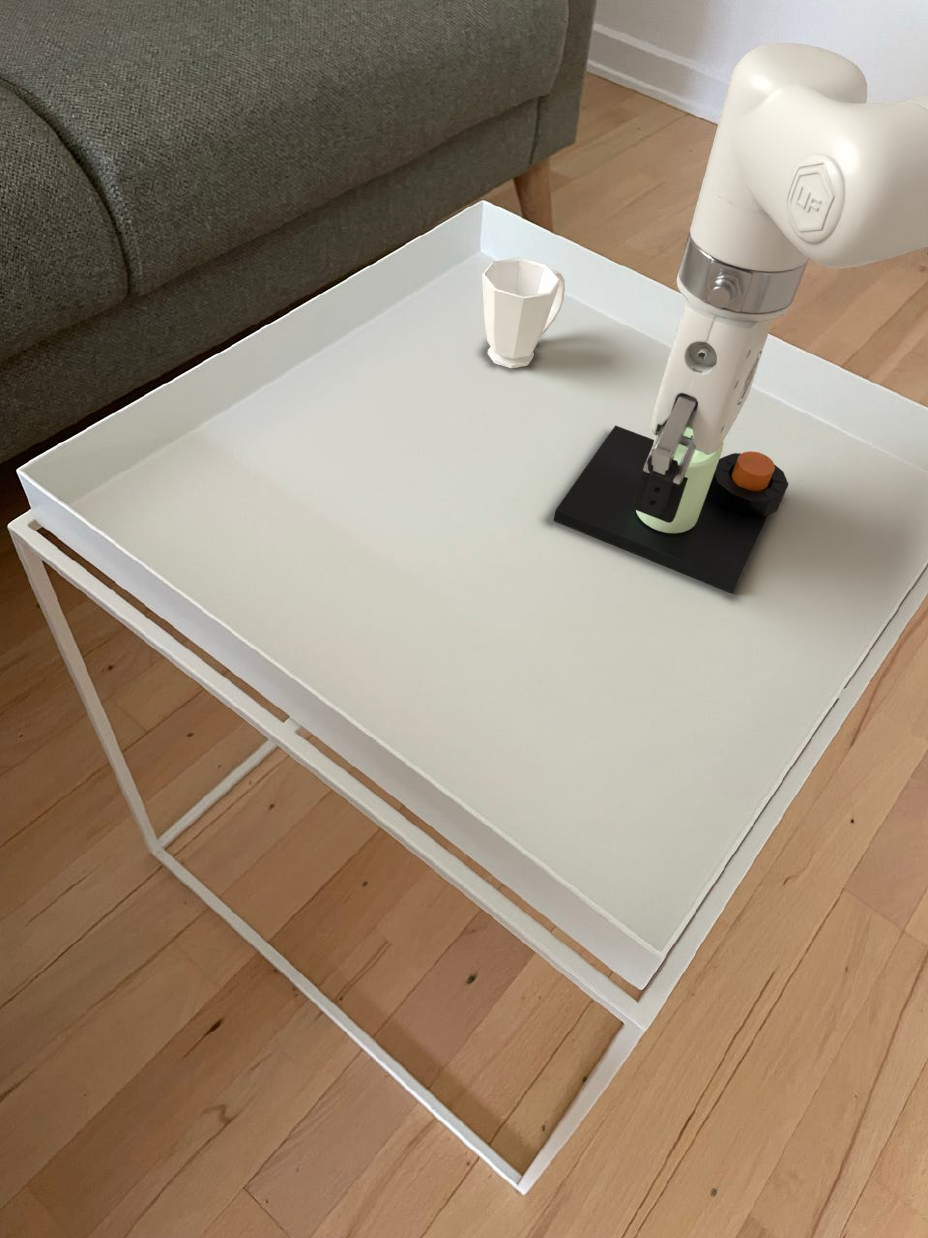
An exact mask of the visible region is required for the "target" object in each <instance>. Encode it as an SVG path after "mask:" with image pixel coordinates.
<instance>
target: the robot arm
mask: <svg viewBox="0 0 928 1238" xmlns="http://www.w3.org/2000/svg"><path fill="white" fill-rule="evenodd" d="M867 82H868V81H867V79H866V76H865V74H864V72H863V71H862V70H861V69H860V67H859V66H858V65H857V64H855V62H853V61H852V60H849V58H846V57H845V56H843V55H841V54H839V53H837V52H834V51H832V50H829V49H826V48H823V47H819V46H815V45H809V44H804V43H797V42H796V43H795V42H777V43H768V44H763V45H759V46H757V47H755V48H753V49H752V50H749V51H748V52H747V53H746V54H744V55H743V56H742V57H741V58H740V60H739V61H738V62H737V64H736V65H735V67H734V69H733V71H732V73H731V77H730V80H729V83H728V86H727V90H726V93H725V98H724V101H723V104H722V109H721V113H720V116H719V120H718V123H717V127H716V132H715V135H714V139H713V143H712V147H711V151H710V152H709V153H710V154H709V157H708V161H707V164H706V170H705V171H704V176H703V179H702V183H701V187H700V191H699V195H698V199H697V202H696V205H695V209H694V213H693V217H692V221H691V225H690V228H689V231H688V235H687V238H686V242H685V246H684V249H683V253H682V256H681V261H680V263H679V268H678V272H677V276H676V280H675V281H676V286H677V289H678V291H679V292H680V294H681V295H682V296H683V297H684V298H685V299H686V302H685V305H684V308H683V311H682V315H681V317H680V321H679V323H678V327H676V331H675V336H674V340H673V342H672V346H671V349H670V351H669V356H668V359H667V362H666V365H665V368H664V371H663V374H662V379H661V382H660V385H659V389H658V392H657V397H656V400H655V404H654V409H653V412H652V415H651V417H652V418H651V422H650V430H651V431H652V433H653V435H654V440H655V441H654V443H653V446H652V448H651V450H650V453H649V455H648V458H647V460H646V462H645V464H644V465H643V468H642V472H641V475H640V479H639V482H638V486H637V489H636V493H635V496H634V500H633V503H632V507H633V508H634V509H635V510H637V511H640V512H642V513H645V514H647V515H650V516H652V517H655V518H657V519H660V520H662V521H665V522H668V523H671V522H672V521H673V520H674V518H675V516H676V513H677V510H678V507H679V504H680V501H681V498H682V495H683V492H684V489H685V486H686V483H687V480H688V478H686V477H684V476H685V473H686V471H687V469H688V466H689V464H690V462H691V459H692V457H693V455H694V452H695V450H698V451H701V452H704V453H705V454H706V455H709V454H712V453H714V452H716V451H717V450H718V449H719V447H720V446H721V444H722V442H723V443H724V441H725V439H726V437H727V435H728V433H729V432H730V430H731V428H732V427H733V425H734V423H735V421H736V420H737V418H738V416H739V414H740V412H741V410H742V408H743V407H744V405H745V403H746V401H747V400H748V396H749V395H750V391H751V389H752V386H753V382H754V379H755V377H756V373H757V371H758V367H759V363H760V360H761V357H762V354H763V351H764V348H765V345H766V342H767V340H768V336H769V333H770V330H771V327H772V324H773V321H774V320H775V319H778V318H780V317H782V316H783V317H784V315H785V314H787V313H788V312H789V311H790V310H791V308H792V307H793V306H792V305H793V303H794V300H795V297H796V295H797V292H798V289H799V287H800V284H801V282H802V279H803V277H804V273H805V271H806V268H807V265H808V263H809V260H810V261H812V262H813V263H814V264H817V265H819V266H822V267H825V268H831V269H838V270H839V269H852V268H859V267H862V266H866V265H870V264H873V263H876V262H881V261H885V260H889V259H892V258H896V257H900V256H903V255H905V254H908V253H911V252H915V251H918V250H923V249H926V248H928V95H923V96H918V97H913V98H907V99H906V98H905V99H902V100H897V101H891V102H872V103H871V102H870V103H869V102H868V103H867V100H868V83H867ZM686 428H690V429H693V435H694V437H693V439H691V438H689V437H686V436H683V435H684V433H685V430H686ZM656 435H657V436H656ZM655 436H656V438H655ZM678 445H681V446H684V447H686V450H685V452H684V455H683V457H682V459H681V462H680V464H679V465H678V462H677V461H676V460H673V459H674V457H675V453H676V450H677V447H678Z"/></svg>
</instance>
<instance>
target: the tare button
mask: <svg viewBox="0 0 928 1238" xmlns="http://www.w3.org/2000/svg"><path fill="white" fill-rule="evenodd" d="M774 464H775V462H774V461H773V460H772V459H771V458H770V457H769V456H767V455H766V454H764V453H761V452H757V451H753V450H752V451H744V452H742V454H740V455H739V457H738V459H737V462H736V464H735V467H734V469H733V472H732V480H733V482H735V483H736V484H737V485H738V486H740V487H742V488H745V489H748V490H750V491H763V490H764V489H766V488H767V486H768V484H769V482H770V479H771V477H772V474H773V472H774V470H775V465H776V464H775V465H774Z"/></svg>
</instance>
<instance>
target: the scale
mask: <svg viewBox="0 0 928 1238" xmlns="http://www.w3.org/2000/svg"><path fill="white" fill-rule="evenodd" d="M654 440H655V439H653V438H650V437H647V436H645V435H642V434H639V433H636V432H635V431H632V430H630V429H626V428H624V427H622V426H618V425H617V424H616V425H614V426H613V428H612V429H611V431H610V432H609V434H608V435H607V437H606V438H605V439H604V441H603V442H602V444H600V446H599V447H598V449H597V451H596V452H595V453H594V454H593V456H592V458H591V459H590V461H589V462H588V463H587V464H586V466H585V467H584V468H583V470H582V472H581V473H580V475H579V476H578V477H577V479H576V480H575V482H574V483H573V485H572V486H571V487H570V489H569V490H568V491H567V493H566V494H565V496H564V497H563V499H562V500H561V501H560V503H559V504H558V506H557V507H556V508H555V511H554V516H553V521H554V522H555V523H558V524H561V525H563V526H566V527H568V528H571V529H573V530H576V531H577V532H580V533H583V534H586V535H587V536H590V537H593V538H596V539H598V540H600V541H603V542H604V543H607V544H609V545H612V546H614V547H618V548H619V549H622V550H624V551H626V552H629V553H632V554H634V555H637V556H639V557H642V558H643V559H647V560H648V561H652V562H653V563H656V564H658V565H661V566H664V567H666V568H669V569H671V570H672V571H673V570H674V571H676V572H679V573H681V574H683V575H686V576H688V577H691V578H693V579H695V580H697V581H700V582H703V583H705V584H708V585H710V586H713V587H715V588H717V589H720V590H722V591H724V592H727V593H730V594H733V593H734V592H735V590H736V587H737V585H738V583H739V581H740V579H741V576H742V574H743V572H744V569H746V566H747V564H748V562H749V559H750V557H751V556H752V552H753V551H754V548H755V546H756V544H757V542H758V540H759V537H760V535H761V534H762V531H763V530H764V527H765V525H766V523H767V520H768V518H769V516H770V515H772V514H774V513H776V512H777V511H778V510H779V507H780V505H781V503H782V501H783V499H784V496H785V494H786V491H787V489H788V486H789V482H788V479H787V477H786V475H785V472H784V471H783V470H782V469H781V468H780V467H779V466H777V465H776V464H775V463H774V465H775V470H774V472H773V474H772V477H771V479H770V482H769V484H768V486H767V488H766V489H764V490H763V491H750V490H748V489H745V488H742V487H740V486H738V485H737V484H736V483H735V482H733V480H732V472H733V469H734V467H735V464H736V462H737V459H738V457H739V455H740V454H742V453H743V452H742V453H741V452H740V453H739V452H734V453H729V454H728V455H725V456H723V457H720V458H719V461H718V464H717V467H716V470H715V472H714V475H713V478H712V481H711V484H710V486H709V489H708V492H707V495H706V498H705V500H704V503H703V506H702V509H701V512H700V514H699V517H698V520H697V522H696V524H695V526H694V527H692V528H691V529H690V530H687V531H685V532H681V533H665V532H661V531H658V530H655V529H653V528H651V527H649V526H648V525H646V524H645V523H644V522H643V521H642V520H641V519H640V518H639V516H638V514H637V513H636V510H635V509H634V508H633V507H632V503H633V500H634V496H635V493H636V489H637V486H638V482H639V479H640V475H641V472H642V468H643V465H644V464H645V462H646V460H647V458H648V455H649V453H650V450H651V448H652V446H653V443H654Z"/></svg>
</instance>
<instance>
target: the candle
mask: <svg viewBox="0 0 928 1238" xmlns="http://www.w3.org/2000/svg"><path fill="white" fill-rule="evenodd" d="M656 436H657V435H656ZM656 436H655V435H654V439H653V440H654V441H655V438H656ZM683 436H686V437H689V438H691V439H693V437H694V435H693V429H690V428H686V430H685V433H684V435H683ZM724 443H725V442H724V441H723V442H722V444H721V446H720V447H719V449H718V450H717V451H716V452H714V453H712V454H709V455H706V454H705V453H704V452H701V451H698V450H695V452H694V455H693V457H692V459H691V462H690V464H689V466H688V469H687V471H686V473H685V476H684V477H686V478H688V480H687V483H686V486H685V489H684V492H683V495H682V498H681V501H680V504H679V507H678V510H677V513H676V516H675V518H674V520H673V521H672V522H671V523H668V522H665V521H662V520H660V519H657V518H655V517H652V516H650V515H647V514H645V513H642V512H640V511H637V510H636V513H637V514H638V516H639V518H640V519H641V520H642V521H643V522H644V523H645V524H646V525H648V526H649V527H651V528H653V529H655V530H658V531H661V532H665V533H681V532H685V531H687V530H690V529H691V528H692V527H694V526H695V524H696V522H697V520H698V517H699V514H700V512H701V509H702V506H703V503H704V500H705V498H706V495H707V492H708V489H709V486H710V484H711V481H712V478H713V475H714V472H715V470H716V467H717V464H718V461H719V459H720V458H721V456H722V453H723V448H724ZM685 450H686V447H684V446H681V445H678V447H677V450H676V453H675V457H674V459H673V460H676V461H677V462H678V465H679V464H680V462H681V459H682V457H683V455H684V452H685Z"/></svg>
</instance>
